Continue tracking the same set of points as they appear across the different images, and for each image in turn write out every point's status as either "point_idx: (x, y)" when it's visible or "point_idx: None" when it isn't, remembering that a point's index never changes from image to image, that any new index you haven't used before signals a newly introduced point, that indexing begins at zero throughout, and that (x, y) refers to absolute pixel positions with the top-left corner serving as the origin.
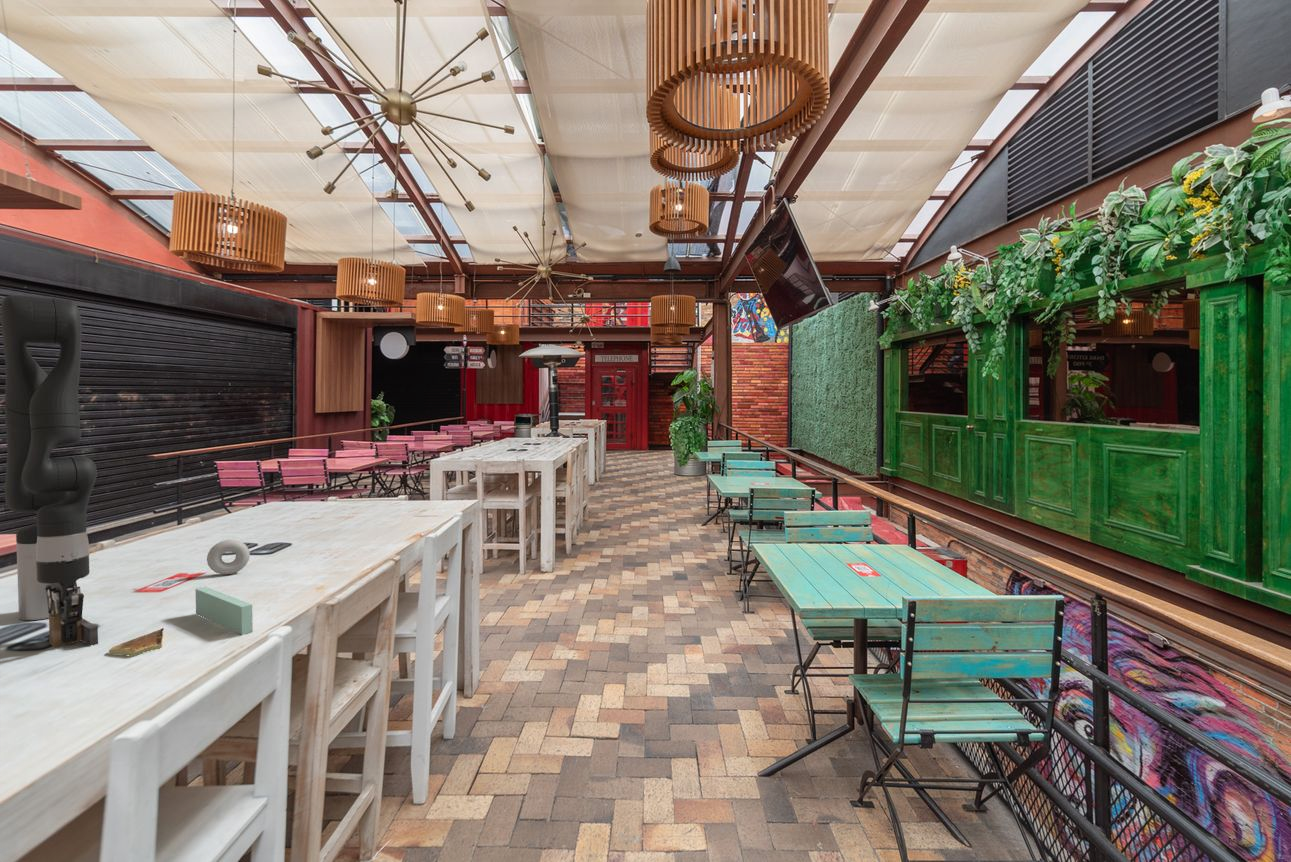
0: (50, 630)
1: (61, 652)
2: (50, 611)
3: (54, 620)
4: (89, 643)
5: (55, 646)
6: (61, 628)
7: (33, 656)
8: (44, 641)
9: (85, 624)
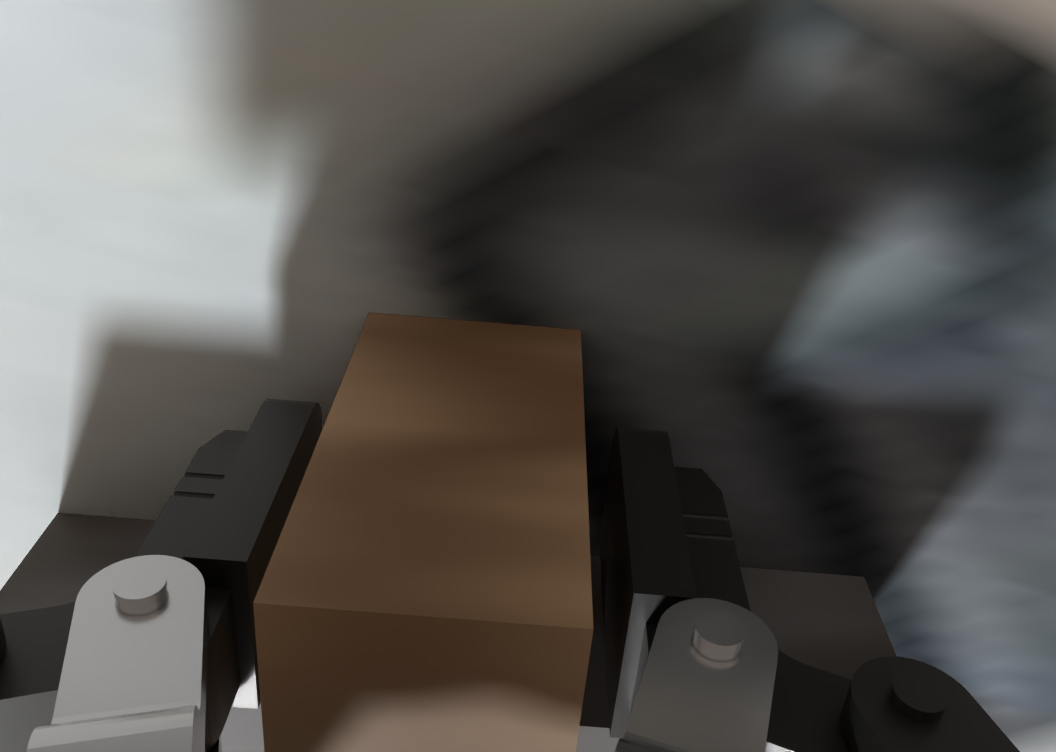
0: (513, 437)
1: (63, 288)
2: (864, 711)
3: (272, 571)
4: (70, 533)
5: (364, 326)
6: (227, 519)
7: (179, 49)
8: (769, 334)
9: (239, 719)
